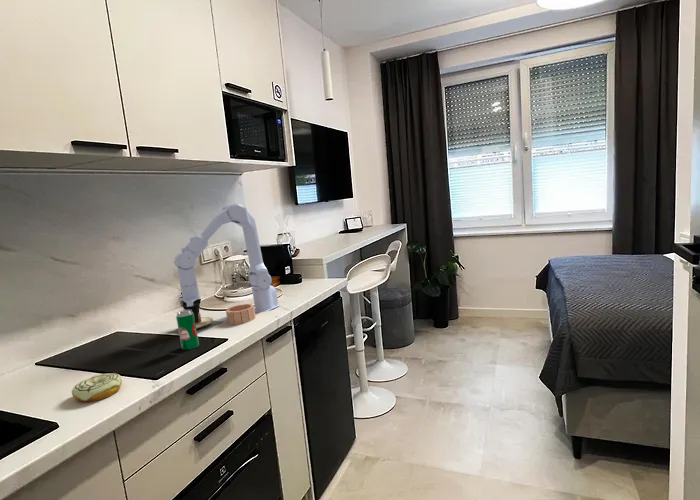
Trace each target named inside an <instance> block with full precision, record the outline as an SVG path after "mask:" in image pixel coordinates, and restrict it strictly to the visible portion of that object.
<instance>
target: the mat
mask: <svg viewBox="0 0 700 500" xmlns="http://www.w3.org/2000/svg"><path fill="white" fill-rule="evenodd" d="M223 323H225V321H222V320H213V322H212V323H210V324H208V325H206V326H203V327H199V328H196V330H197V335H199V333H200V334H201V333H202V332H204V331H207V330H208V329H210V328H213V327H215V326H219V325H221V324H223ZM167 334H178V335H179V330H178V327H177V328H175V329H173V330H171V331H168V332H167Z"/></svg>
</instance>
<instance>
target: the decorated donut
mask: <svg viewBox="0 0 700 500" xmlns="http://www.w3.org/2000/svg"><path fill="white" fill-rule="evenodd" d="M122 381H123V380H122V375H120V374H118V373H115V372H113V373H101V374H96V375H94V376H91V377H89V378H86V379H84V380H82V381H80V382H78V383H77V384H75V385H74V387H73V388H72V389H71V395H72V397H73V398H74V399H75V400H76V401H78V402H81V403H85V402H86V403H87V402H88V403H89V402H91V403H93V402H96V401H100V400H103V399H107V398H110V397H112V396H113V395H114V394H116V393H117V392H118V391H120V388H121V385H122Z"/></svg>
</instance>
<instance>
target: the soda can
mask: <svg viewBox="0 0 700 500" xmlns="http://www.w3.org/2000/svg"><path fill="white" fill-rule="evenodd" d="M175 318H176V324H177V328H178V330H179V334H178V335H179V340H180V345H181V349H182V350H183V351H189V350H190V351H191V350H194V349H196V348H198V347H199V346H200V341H199V337H198V335H199V334H197V330H196V324H195V319H194V313H193V312H192V310H185V309H183V310H180V311H177V312H176V316H175Z"/></svg>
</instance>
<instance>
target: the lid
mask: <svg viewBox="0 0 700 500" xmlns="http://www.w3.org/2000/svg"><path fill="white" fill-rule="evenodd" d="M213 321H214V318H213V317H210V316H206V317H201V312H199V313H198V322H197V323H195V324H196V328H199V327H203V326H206V325H208V324H210V323H212V322H213Z"/></svg>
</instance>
